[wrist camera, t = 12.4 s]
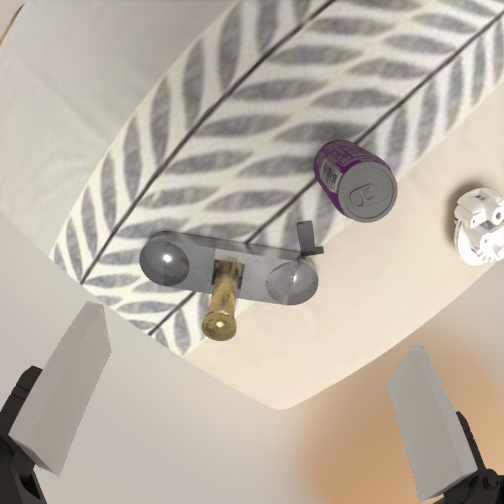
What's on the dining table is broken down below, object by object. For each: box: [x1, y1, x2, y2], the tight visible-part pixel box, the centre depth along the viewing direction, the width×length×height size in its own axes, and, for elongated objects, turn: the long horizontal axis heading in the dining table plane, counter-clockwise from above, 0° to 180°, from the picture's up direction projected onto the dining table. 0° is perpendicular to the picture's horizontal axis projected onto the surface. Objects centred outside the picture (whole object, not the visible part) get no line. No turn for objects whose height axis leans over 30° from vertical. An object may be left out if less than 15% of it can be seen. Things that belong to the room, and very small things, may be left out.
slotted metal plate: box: [139, 231, 318, 305], centre depth 44 cm, size 7×26×3 cm, turn 81°
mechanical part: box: [454, 188, 504, 265], centre depth 35 cm, size 11×12×12 cm
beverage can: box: [314, 140, 397, 223], centre depth 33 cm, size 7×7×12 cm
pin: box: [202, 260, 240, 341], centre depth 39 cm, size 4×4×14 cm
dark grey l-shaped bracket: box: [297, 221, 324, 256], centre depth 43 cm, size 5×3×1 cm, turn 11°
